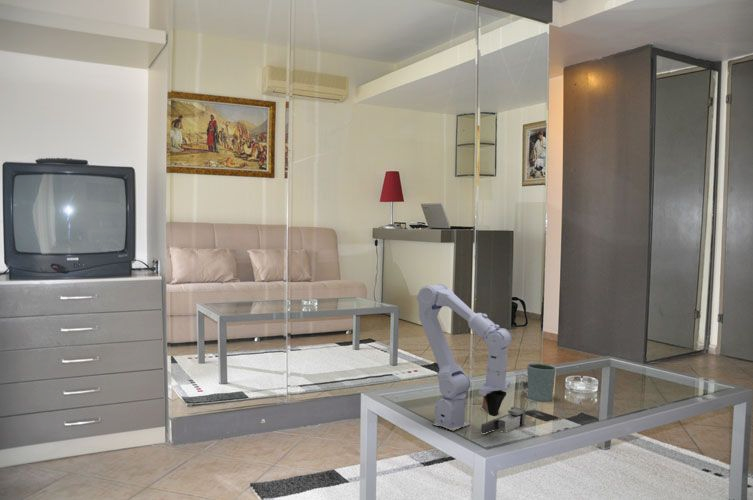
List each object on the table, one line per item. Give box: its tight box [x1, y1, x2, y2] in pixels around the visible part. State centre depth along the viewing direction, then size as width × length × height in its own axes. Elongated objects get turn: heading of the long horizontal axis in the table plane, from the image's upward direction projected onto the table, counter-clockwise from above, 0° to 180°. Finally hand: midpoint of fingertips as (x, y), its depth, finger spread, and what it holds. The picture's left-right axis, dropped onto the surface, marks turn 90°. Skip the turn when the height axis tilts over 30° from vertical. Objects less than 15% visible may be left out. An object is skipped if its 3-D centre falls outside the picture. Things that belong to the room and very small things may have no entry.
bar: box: [497, 414, 521, 433], centre depth 187 cm, size 9×2×4 cm, turn 138°
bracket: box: [480, 406, 526, 433], centre depth 187 cm, size 18×4×5 cm, turn 138°
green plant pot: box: [526, 362, 557, 403], centre depth 224 cm, size 10×10×12 cm
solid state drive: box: [525, 409, 559, 422], centre depth 203 cm, size 7×10×1 cm
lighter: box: [481, 395, 500, 416], centre depth 204 cm, size 8×3×10 cm, turn 21°
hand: (492, 415), depth 180 cm, fingers closed
